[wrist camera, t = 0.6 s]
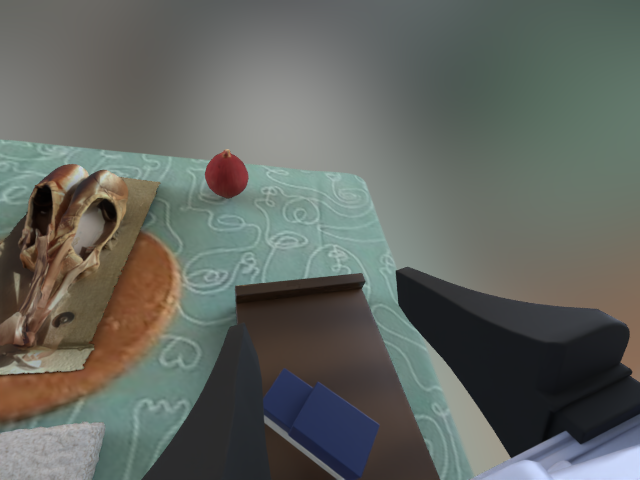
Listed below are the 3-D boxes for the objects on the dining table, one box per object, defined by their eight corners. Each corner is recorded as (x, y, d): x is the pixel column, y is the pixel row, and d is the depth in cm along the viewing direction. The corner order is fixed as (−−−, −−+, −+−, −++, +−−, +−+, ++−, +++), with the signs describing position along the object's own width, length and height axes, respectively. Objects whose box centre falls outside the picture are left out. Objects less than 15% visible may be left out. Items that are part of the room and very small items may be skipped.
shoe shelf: (447, 539, 21) (478, 543, 19) (257, 628, 17) (260, 650, 14) (352, 292, 35) (362, 272, 33) (235, 306, 31) (234, 285, 28)
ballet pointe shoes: (156, 140, 39) (75, 335, 20) (164, 180, 44) (104, 369, 25) (32, 127, 35) (-206, 351, 17) (55, 172, 40) (-111, 388, 21)
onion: (199, 193, 43) (193, 143, 37) (232, 181, 46) (231, 134, 41) (222, 214, 40) (219, 165, 35) (255, 200, 44) (257, 153, 38)
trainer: (366, 436, 23) (383, 424, 20) (346, 487, 20) (363, 482, 18) (280, 374, 25) (285, 356, 22) (253, 414, 22) (255, 400, 20)
